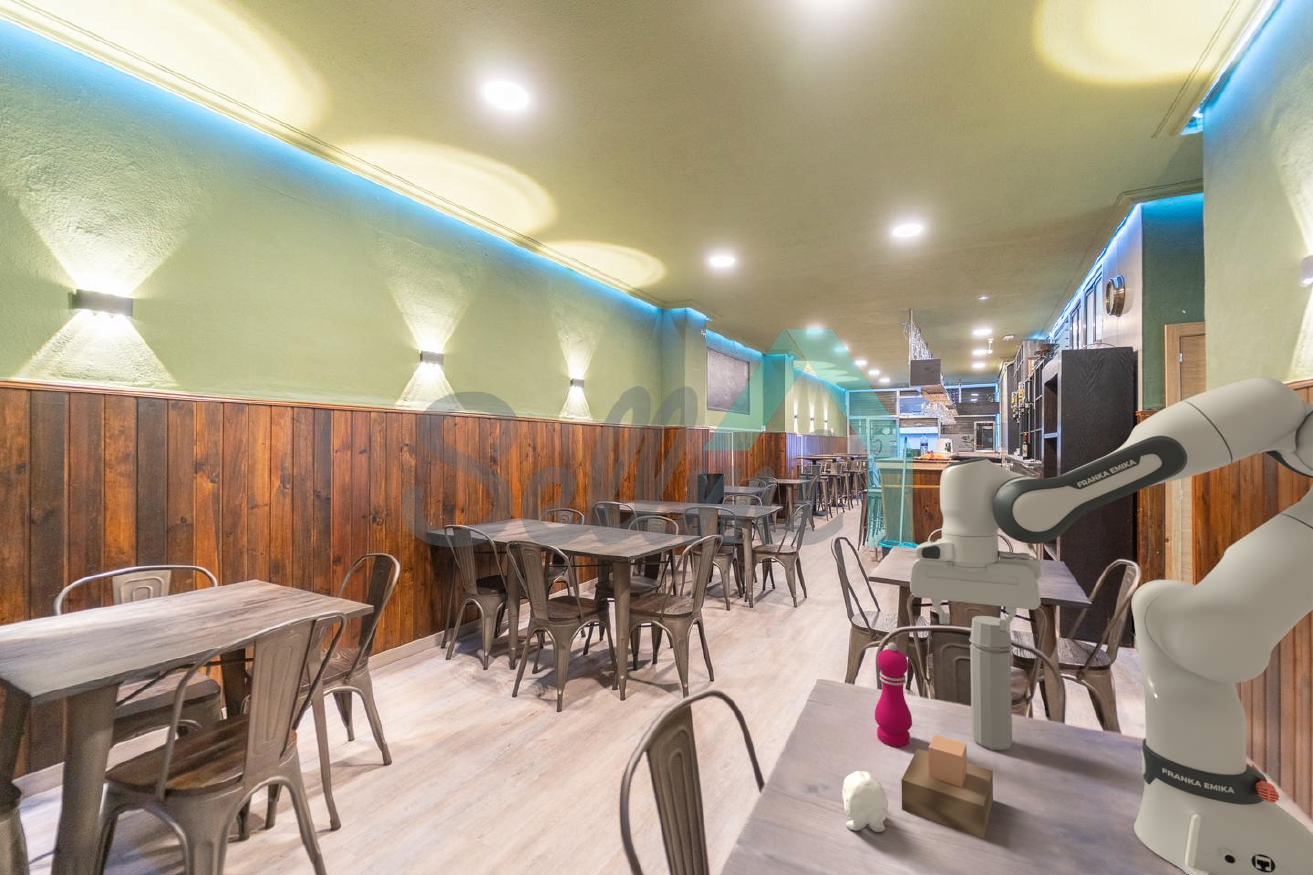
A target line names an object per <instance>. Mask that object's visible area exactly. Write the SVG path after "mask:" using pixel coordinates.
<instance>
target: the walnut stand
mask: <svg viewBox="0 0 1313 875" xmlns="http://www.w3.org/2000/svg"><path fill="white" fill-rule="evenodd" d="M993 774H994V773H993V769H989V768H986V767H983V766H978V765H975V764H972V763H969V762H967V774H966V777H965V780H964V783H963V786H962V787H959V786H956V785H953V784H950V783H947V782H943V781H940V780H937V779H934V778H931V777H929V751H927V750H924V749H921V748H916V751H915V753H914V755H913V757H912V758H911V760H910V762H909V764H908V766H907V768H906V770H905V772H904V773H903V776H902V778H901V780H900V782H901V810H902V811H905V812H907V813H911V814H913V815H916V816H919V817H922V818H925V819H928V820H931V821H932V822H936V823H939V824H941V825H945V826H946V827H951V828H953V829H956V830H957V831H958V830H959V831H962V832H964V833H966V834H970V835H973V836H976V837H979V838H980V839H985V835H986V832H987V827H988V823H989V819H990V814H991V810H992V807H993V806H992V805H993V801H994V780H993V779H994V778H993V777H994V775H993Z"/></svg>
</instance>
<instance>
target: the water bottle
mask: <svg viewBox="0 0 1313 875" xmlns="http://www.w3.org/2000/svg"><path fill="white" fill-rule="evenodd" d="M1000 619H1001V620H1005V619H1003V618H1000V617H995V616H990V615H976V616H974V617H972V619H971V628H970V629H971V630H970V637H969V639H968V640H969V642H970V643H971V644H970V645H969V650H970V651H969V652H970V653H969V654H970V661H969V662H970V706H971V708H970V710H971V712H970V714H971V716H970V718H971V737H972V738H973V740H974V742H976V743H977V744H978V745H980V746H981V747H983V748H986V749H989V750H992V751H1006V750H1009V749H1010V747H1012V745H1013V717H1012V715H1013V713H1012V712H1013V709H1012V665H1011V664H1012V663H1011V662H1012V656H1011V655H1012V652H1011V651H1013V650H1014V647H1013V646H1012V645H1013V644H1012V636H1011V632H1010V633H1006V632H1000V624H999V622H1000Z"/></svg>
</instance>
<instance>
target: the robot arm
mask: <svg viewBox="0 0 1313 875" xmlns="http://www.w3.org/2000/svg"><path fill="white" fill-rule="evenodd" d="M1261 453H1265V454H1267V455H1268V456H1270V457H1272V458H1273V459H1274V460H1276V461H1277V462H1278V463H1279V464H1281V466H1283V467H1285V468H1286V469H1288V470H1290V471H1291V472H1293V473H1296V474H1298V475H1300V476H1303V477H1307V478H1309V479H1310V478H1311V479H1313V404H1312V403H1309V402H1307V400H1304V399H1302V398H1301V396H1300V395H1299V394H1298V393H1297V391H1295V390H1294V389H1293V388H1292V387H1290V386H1289V384H1288V385H1287V384H1286V383H1285V382H1283V381H1280V380H1278V379H1275V378H1271V377H1265V376H1264V377H1263V376H1262V377H1261V376H1258V377H1257V376H1256V377H1251V378H1246V379H1242V380H1239V381H1238V380H1237V381H1234V382H1231V383H1228V384H1224V385H1222V386H1218V387H1215V388H1212V389H1210V390H1209V389H1208V390H1206V391H1203V392H1200V393H1198V394H1195V395H1193V396H1190V397H1187V398H1186V399H1182V400H1181V401H1178V402H1175V403H1174V404H1172V405H1169V406H1167V407H1165V408H1162V409H1161V410H1159V411H1157V412H1155V413H1154V414H1152V415H1151V416H1149V417H1147V418H1145V419H1144V420H1143V421H1141V422H1140V423H1138V424H1136V425H1135V426H1134V428H1133V429H1132V430H1131V433H1130V435H1129V436H1128V438H1127V440H1126V441H1125V442H1124V443H1123V444H1122V445H1121V446H1120V447H1118V448H1117V449H1116V450H1114V451H1112V452H1110V453H1109V454H1107V455H1105V456H1103V457H1100V458H1097V459H1095V460H1092V461H1091V462H1088V463H1086V464H1084V465H1082V466H1079V467H1076V468H1075V469H1073V470H1070V471H1068V472H1065V473H1064V474H1061V475H1058V476H1054V477H1047V478H1037V477H1033V476H1029V475H1025V474H1023V473H1022V474H1021V473H1019V472H1015V471H1012V470H1009V469H1008V468H1005V467H1002V466H1000V465H997V463H994V462H992V461H991V460H989V459H988V458H985V457H977V458H976V457H975V458H970V459H964V460H958V461H955V462H954V461H953V462H951V463H949V464H948V465H947V466H945V467H944V469H942V472H941V473H940V474H941V475H940V479H939V480H940V481H939V482H940V483H939V505H940V512H941V513H942V520H943V521H942V526H941V538H938V539H933V540H929V541H924V542H923V543H920V544H919V545H917V546H916V547H915V549H914V550H915V551H914V553H915V554H914V555H915V557H916V558H917V559H916V560H915V561H914V562H913V563H912V565H911V569H910V576H909V591H910V593H911V594H912V595H913V596H914V597H915V598H922V599H929V600H931V605H932V607H933V609H934V610H935V611H936V614H938V620H939V621H938V622H939V624H940V625H945V626H949V625H950V623H951V620H950V617H951V616H950V613H949V612H948V613H947V612H945V611H944V609H943V608H942V606H941V604H942V603H943V601H947V602H948V601H949V602H950V601H951V602H958V603H959V602H960V603H969V604H977V605H985V606H996V607H997V606H998V607H1006V614H1008V615H1007V616H1006V619H1004V620H1001V619H1002V618H1001V619H1000V622H999V624H1000V632H1006V633H1010V634H1011V622H1012V620H1014V618H1015V617H1016V616H1017V612H1018V611H1017V609H1023V610H1033V611H1034V610H1037V609H1038V608H1039V607H1040V606H1041V594H1040V593H1041V591H1040V587H1039V582H1038V580H1039V579H1040V577H1041V576H1042V566H1041V562H1040V560H1039V558H1037V557H1035V556H1033V555H1030V553H1028V552H1014V551H1013V552H1012V551H1003V550H999V549H1000V548H999V535H998V534H999V533H998V532H999V529H1000V530H1001V532H1003V533H1004V534H1005V535H1006V536H1008V537H1009V538H1011V539H1013V540H1015V541H1018V542H1019V543H1024V544H1030V545H1038V544H1039V545H1041V544H1046V543H1049V542H1052V541H1053V540H1055V539H1057V538H1059V537H1060V536H1061V535H1063V534H1064V533H1065V532H1066V531H1067V530H1068V529H1069V528H1070V527H1071V526H1072V524H1074V523H1075V522H1076V521H1077V520H1078V519H1079V518H1080V517H1082V516H1083V515H1085V514H1087V513H1088V512H1091V511H1093V510H1095V509H1098V508H1100V507H1103V506H1104V505H1108V504H1109V503H1112V502H1114V501H1117V500H1119V499H1122V498H1124V497H1126V496H1129V495H1131V494H1133V493H1137V492H1139V491H1141V490H1143V489H1145V488H1148V487H1153V486H1157V485H1159V484H1160V485H1161V484H1165V483H1168V482H1174V481H1176V480H1182V479H1186V478H1190V477H1195V476H1198V475H1200V474H1204V473H1208V472H1212V471H1213V470H1218V469H1220V468H1223V467H1225V466H1228V465H1231V464H1233V463H1236V462H1238V461H1240V460H1244V459H1245V458H1248V457H1251V456H1254V455H1257V454H1261ZM1131 611H1132V616H1133V622H1134V630H1135V631H1134V634H1135V639H1136V648H1137V654H1138V661H1139V666H1140V672H1141V678H1142V683H1143V693H1144V712H1145V714H1144V715H1145V716H1144V718H1145V724H1144V726H1145V738H1143V739H1142V744H1141V745H1142V747H1141V752H1140V753H1141V754H1140V755H1141V756H1140V758H1141V773H1142V776H1143V779H1144V784H1143V785H1144V786H1143V793H1142V798H1141V802H1140V808H1139V812H1138V814H1137V818H1136V819H1135V821H1134V824H1133V831H1134V833H1135V835H1136V836H1137V838H1138V839H1139V840H1140V841H1141V842H1142V843H1143V844H1144V845H1145V846H1146V847H1147V848H1148V849H1149V850H1150V851H1152V852H1153V853H1155V854H1156V855H1158V856H1159V857H1160V858H1163V859H1164V860H1165V861H1167V862H1169V863H1170V864H1172V865H1174V866H1175V867H1177V868H1179V869H1180V870H1182V871H1183V872H1185V874H1187V875H1188V874H1189V875H1313V833H1312V831H1310V830H1309V828H1308V827H1307V826H1306V825H1305V824H1303V823H1302V822H1301V821H1300V820H1298V819H1297V818H1296V817H1294V815H1291V814H1290V813H1289V812H1288V811H1286V810H1285V809H1284V808H1283V807H1281V806H1280V805H1279V804H1278V803H1277V802H1278V801H1280V794H1279V793H1278V791H1277V790H1276V787H1275V785H1272V784H1271V783H1270V782H1268V780H1267V778H1266V776H1265V775H1264V773H1262V772H1260V771H1259V769H1258V768H1257V766H1255V765H1254V764H1253V763H1252V764H1249V763H1247V731H1246V730H1247V728H1246V727H1247V726H1246V712H1245V709H1244V707H1243V704H1242V701H1241V700H1240V697H1239V694H1238V690H1237V687H1236V684H1239V683H1240V684H1241V683H1244V682H1248V681H1251V680H1254V679H1255V678H1257V677H1259V676H1260V675H1261V674H1262V673H1264V671H1265V670H1266V669H1267V667H1268V665H1269V664H1270V661H1271V654H1272V651H1273V649H1274V648H1275V647H1276V646H1277V645H1278V644H1279V642H1280V641H1282V639H1284V637H1285V636H1286V635H1287V634H1288V633H1289V632H1291V630H1293V628H1294V627H1295V626H1296V625H1297V624H1298V623H1299V622H1300V621H1301V620H1303V618H1304V617H1306V616H1307V615H1308V614H1309V613H1311V612H1312V611H1313V483H1312V484H1311V487H1310V488H1309V490H1308V491H1307V493H1306V494H1305V495H1304V496H1303V497H1302V498H1301V499H1300V501H1297V502H1296V503H1295V504H1292V505H1290V506H1289V507H1287V508H1286V509H1284V510H1283V511H1282V512H1280V513H1278V514H1276V515H1274V517H1272V518H1270V519H1269V520H1267V521H1266V522H1264V523H1263V524H1261V525H1260V526H1258V527H1257V528H1255V529H1254V530H1252V531H1251V532H1249V533H1248V534H1247V535H1245V536H1243V537H1242V538H1240V539H1238V540H1237V541H1236V542H1234V543H1232V544H1231V545H1230V546H1229V547H1227V548H1226V550H1225V551H1224V553H1223V556H1222V558H1221V559H1220V560H1219V562H1218V563H1217V564H1216V566H1214V567H1213V569H1211V571H1210V572H1208V573H1207V575H1206V576H1204V577H1203V578H1202V579H1201V580H1200V581H1199V582H1198V583H1197V584H1194V583H1193V584H1192V583H1190V582H1188V581H1183V580H1178V579H1155V580H1150V581H1147V582H1146V583H1144V584H1142V585H1140V586H1139V587H1138V588H1137V589H1136V590H1135V592H1134V593H1133V595H1132V598H1131Z"/></svg>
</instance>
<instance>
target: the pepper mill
mask: <svg viewBox="0 0 1313 875" xmlns="http://www.w3.org/2000/svg"><path fill="white" fill-rule="evenodd" d="M897 649H898V647H897V644H896V643H894V642H889V643H887V648H885V649H884V650H881V651H880V652H879V653H878V654H877V657H876V664H877V666H878V668H879V670H880V672H879V680H880V681H881V686H882V687H881V689H882V690H881V695H880V698H879V699H878V702H877V704H876V705H875V710H874V720H875V722H876V724H877V725H878V727H877V730H876V731H877V732H876V733H877V734H876V736H877V738H878V740H879V741H880V742H881V743H882V744H885V745H887V746H890V747H893V748H904V747H908V746H909V745H910V743H911V736H910V731H909V730H910V729H911V728H912V726H913V716H912V713H911V711H910V708H909V706H908V703H907V702H906V699H905V695H904V685H906V683H907V681H906V677H907V676H906V674H905V673H907V672H908V669H909V662H908V659H907V657H906V655H905V654H904V653H902V651H900V650H897Z"/></svg>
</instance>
